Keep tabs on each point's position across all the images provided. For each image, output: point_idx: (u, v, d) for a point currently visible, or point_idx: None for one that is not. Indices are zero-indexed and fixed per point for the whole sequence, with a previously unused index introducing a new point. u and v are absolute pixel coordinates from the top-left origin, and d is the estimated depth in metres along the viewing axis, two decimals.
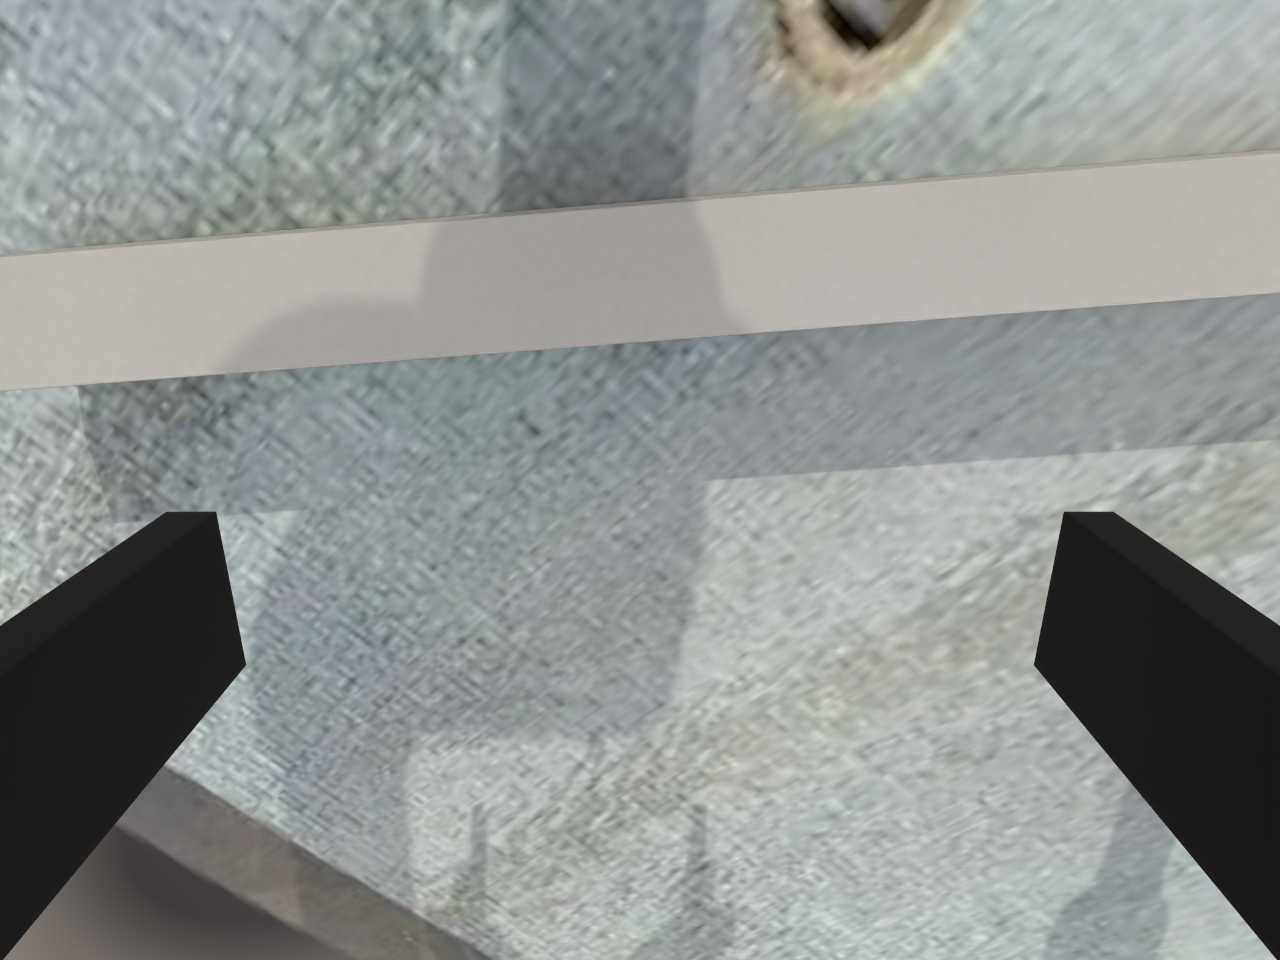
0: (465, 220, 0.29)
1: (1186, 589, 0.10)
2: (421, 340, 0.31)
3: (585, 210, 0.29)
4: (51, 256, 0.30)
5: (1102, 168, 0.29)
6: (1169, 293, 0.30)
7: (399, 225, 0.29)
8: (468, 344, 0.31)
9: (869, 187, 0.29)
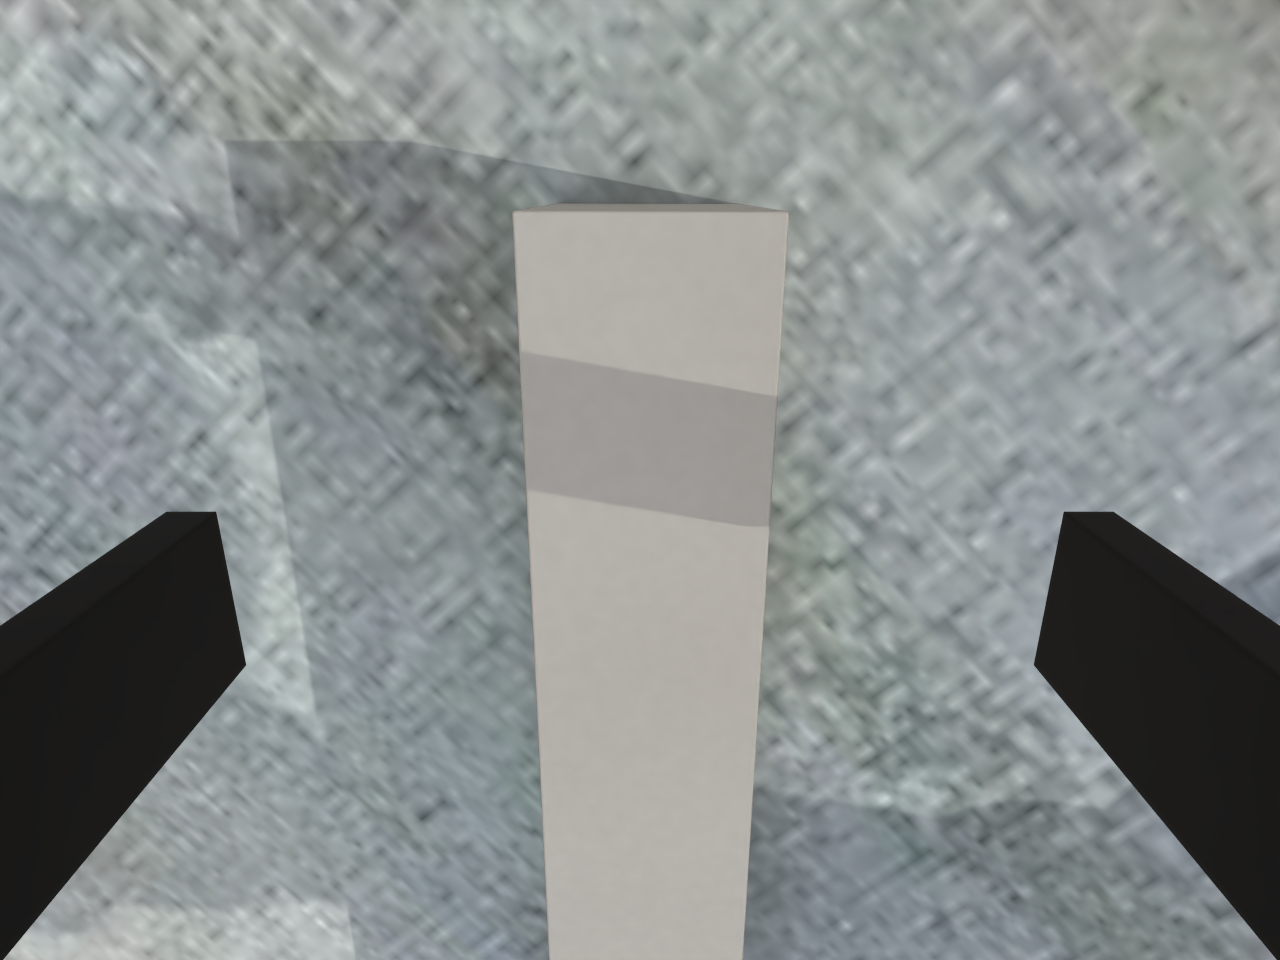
0: None
1: (1186, 589, 0.10)
2: None
3: None
4: (766, 496, 0.16)
5: None
6: None
7: None
8: None
9: None
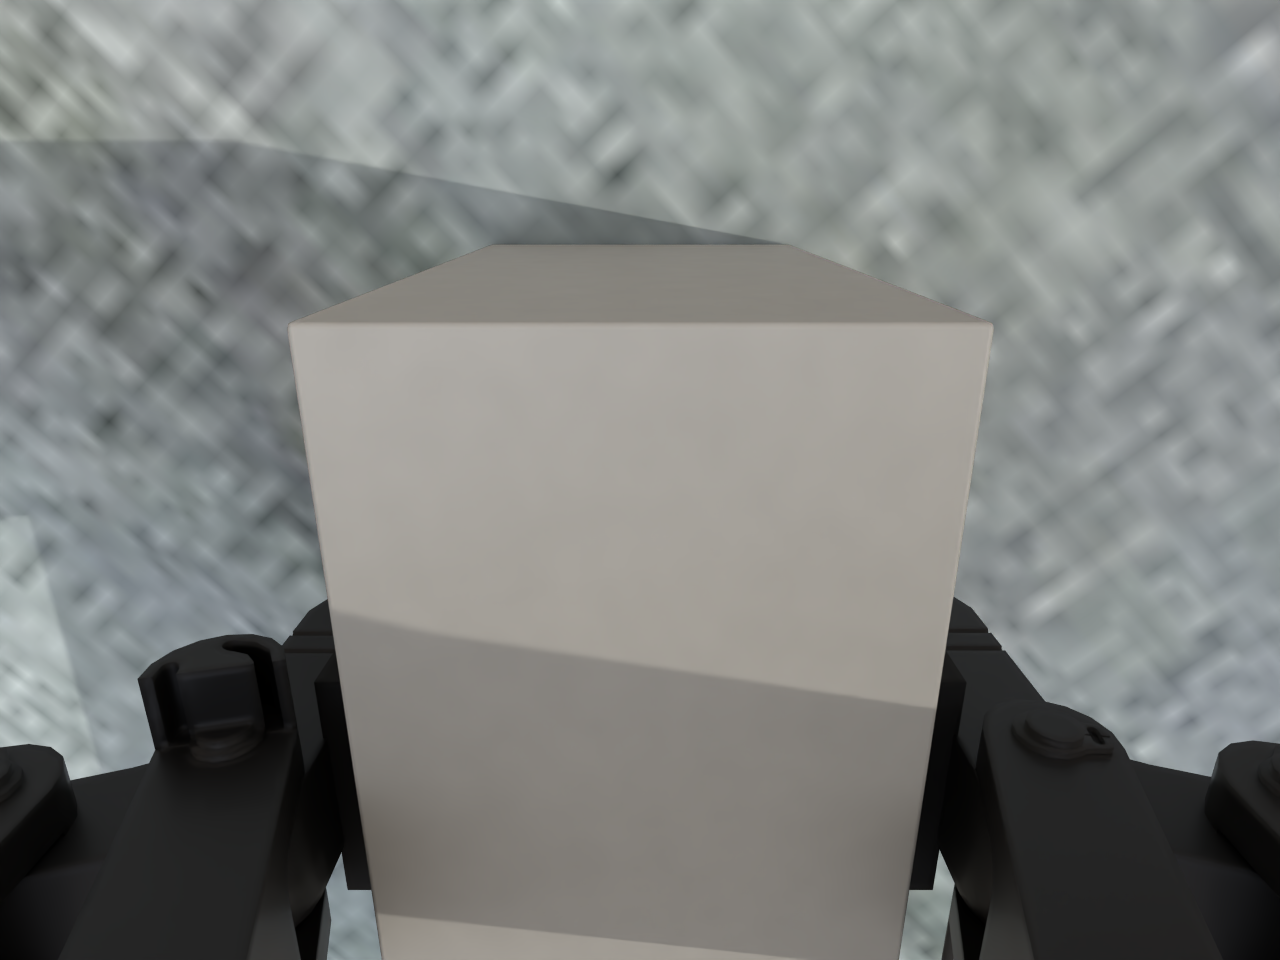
0: None
1: None
2: None
3: None
4: (894, 914, 0.07)
5: None
6: None
7: None
8: None
9: None
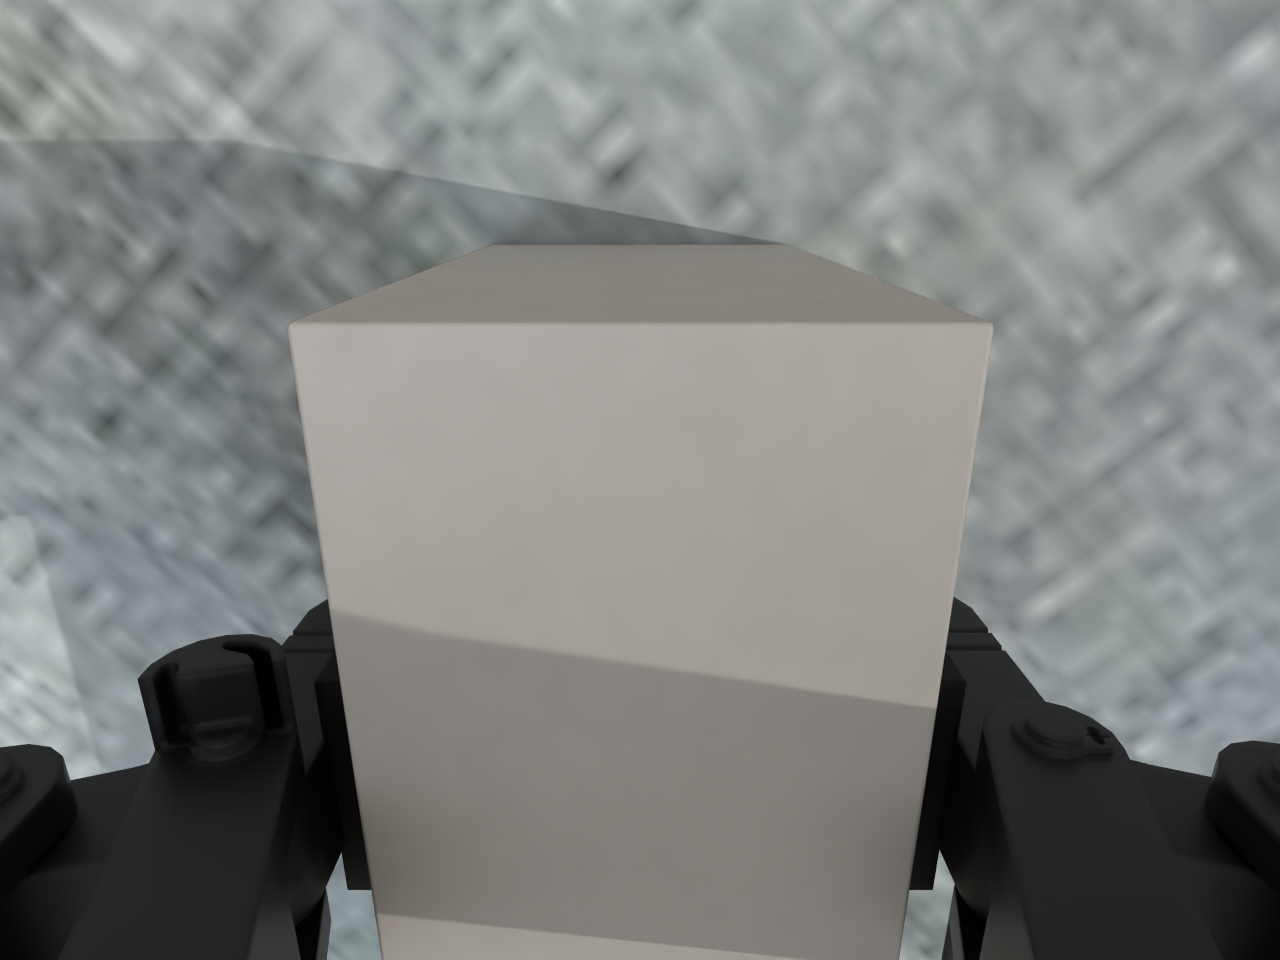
0: None
1: None
2: None
3: None
4: (894, 914, 0.07)
5: None
6: None
7: None
8: None
9: None
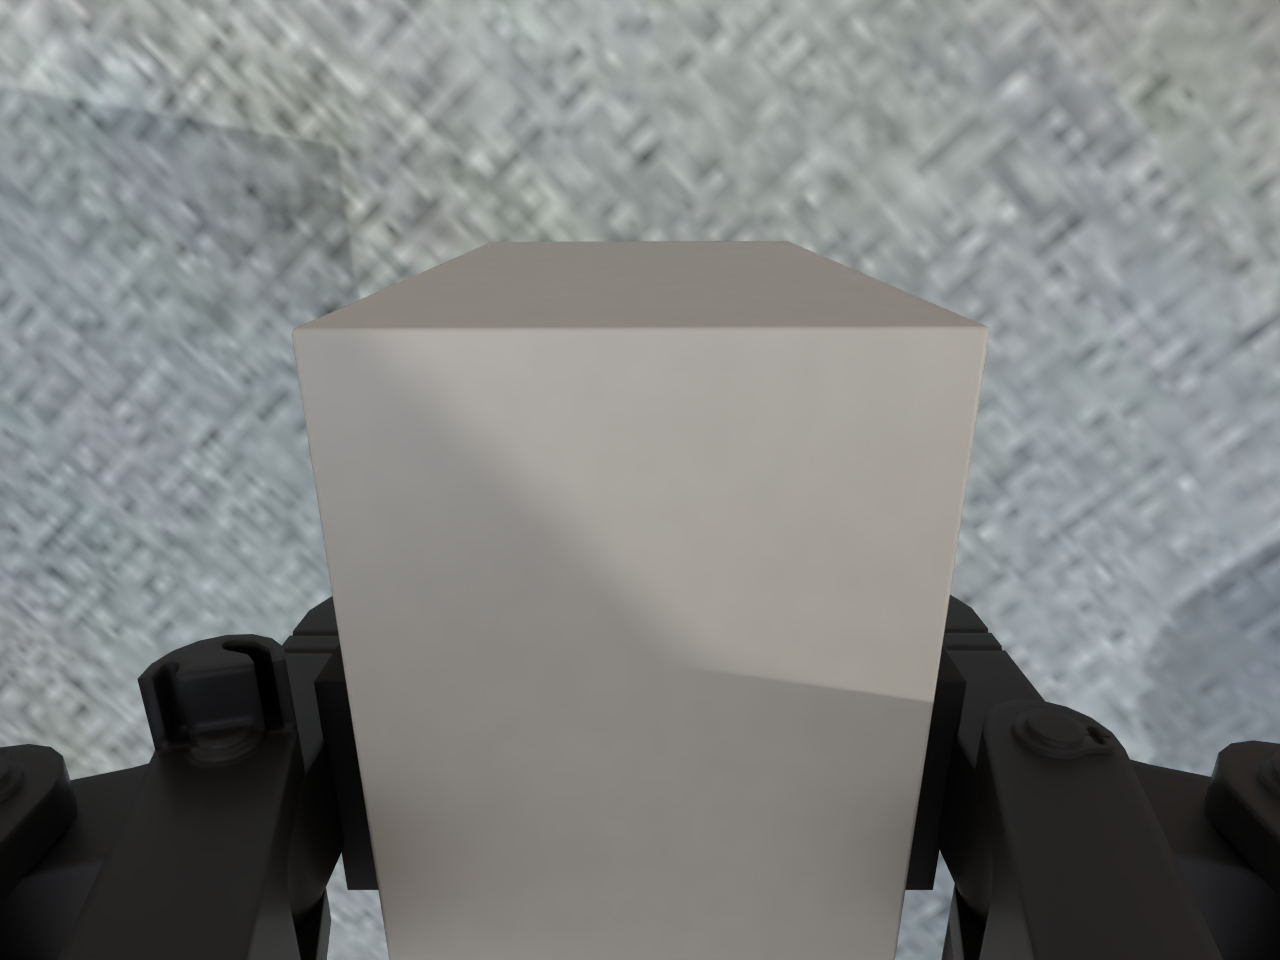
0: None
1: None
2: None
3: None
4: (892, 905, 0.08)
5: None
6: None
7: None
8: None
9: None
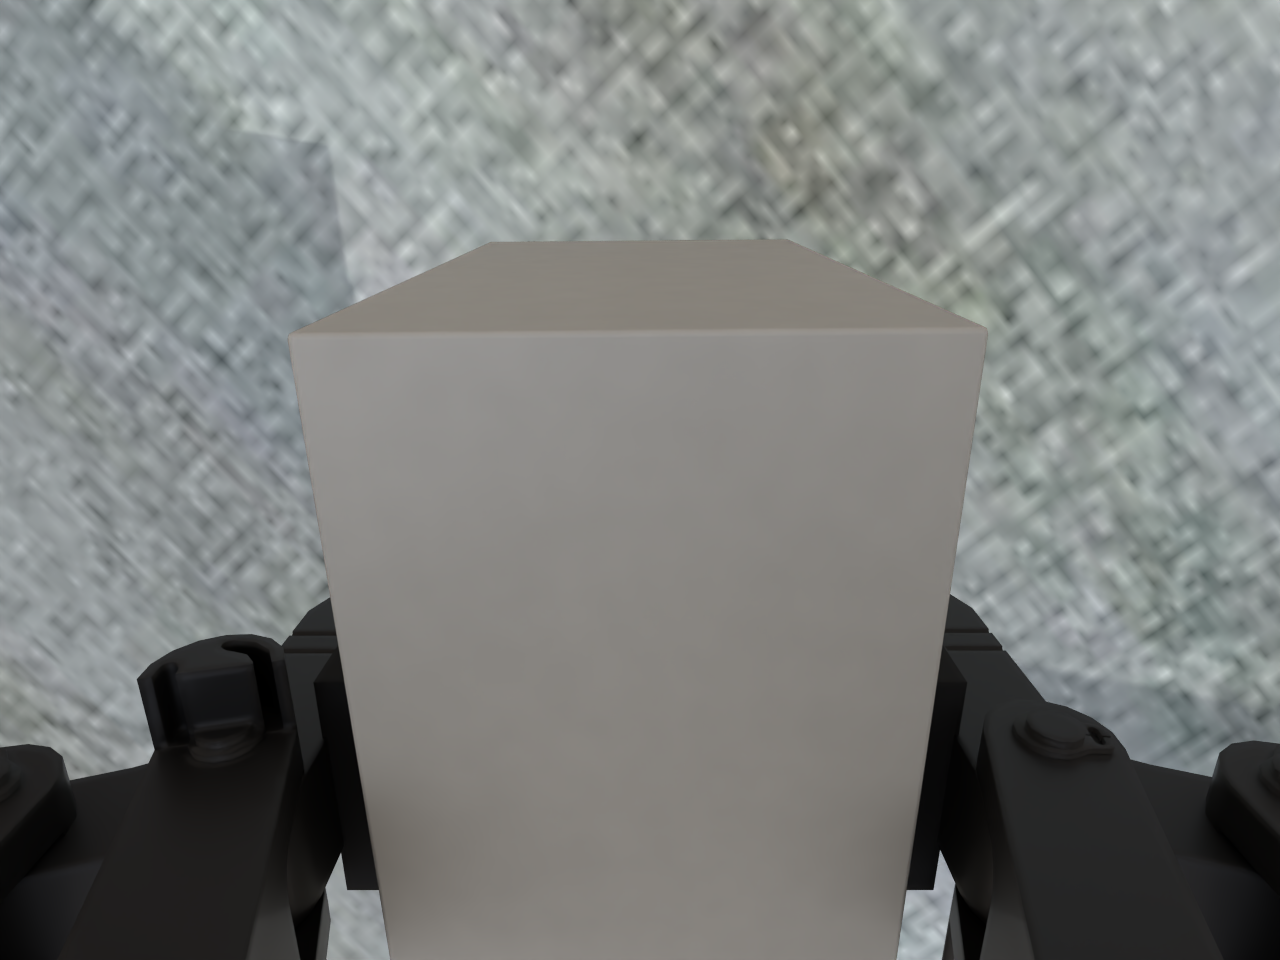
0: None
1: None
2: None
3: None
4: (894, 908, 0.08)
5: None
6: None
7: None
8: None
9: None
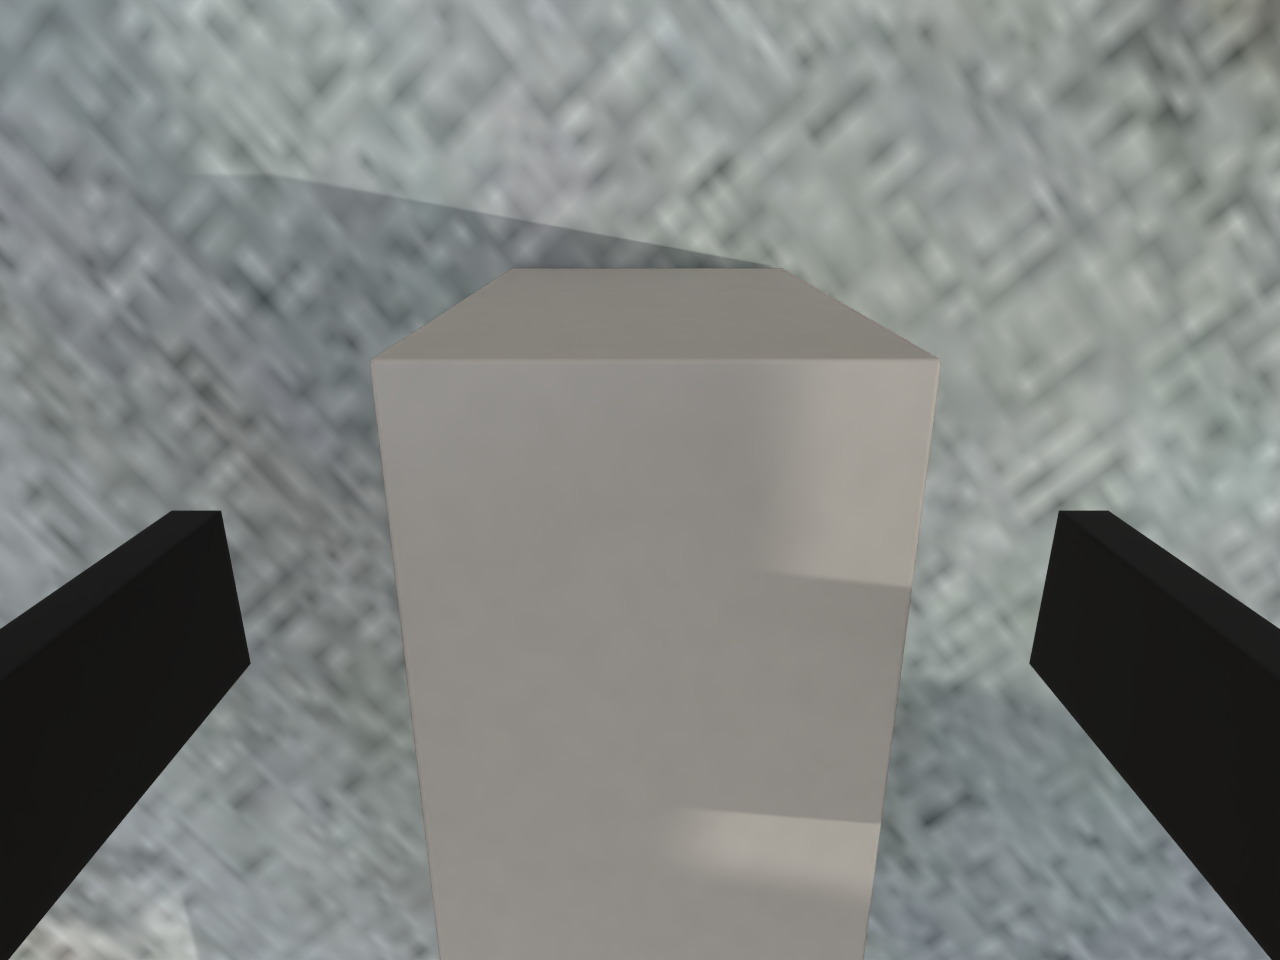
0: None
1: (1179, 587, 0.10)
2: None
3: None
4: (868, 852, 0.09)
5: None
6: None
7: None
8: None
9: None
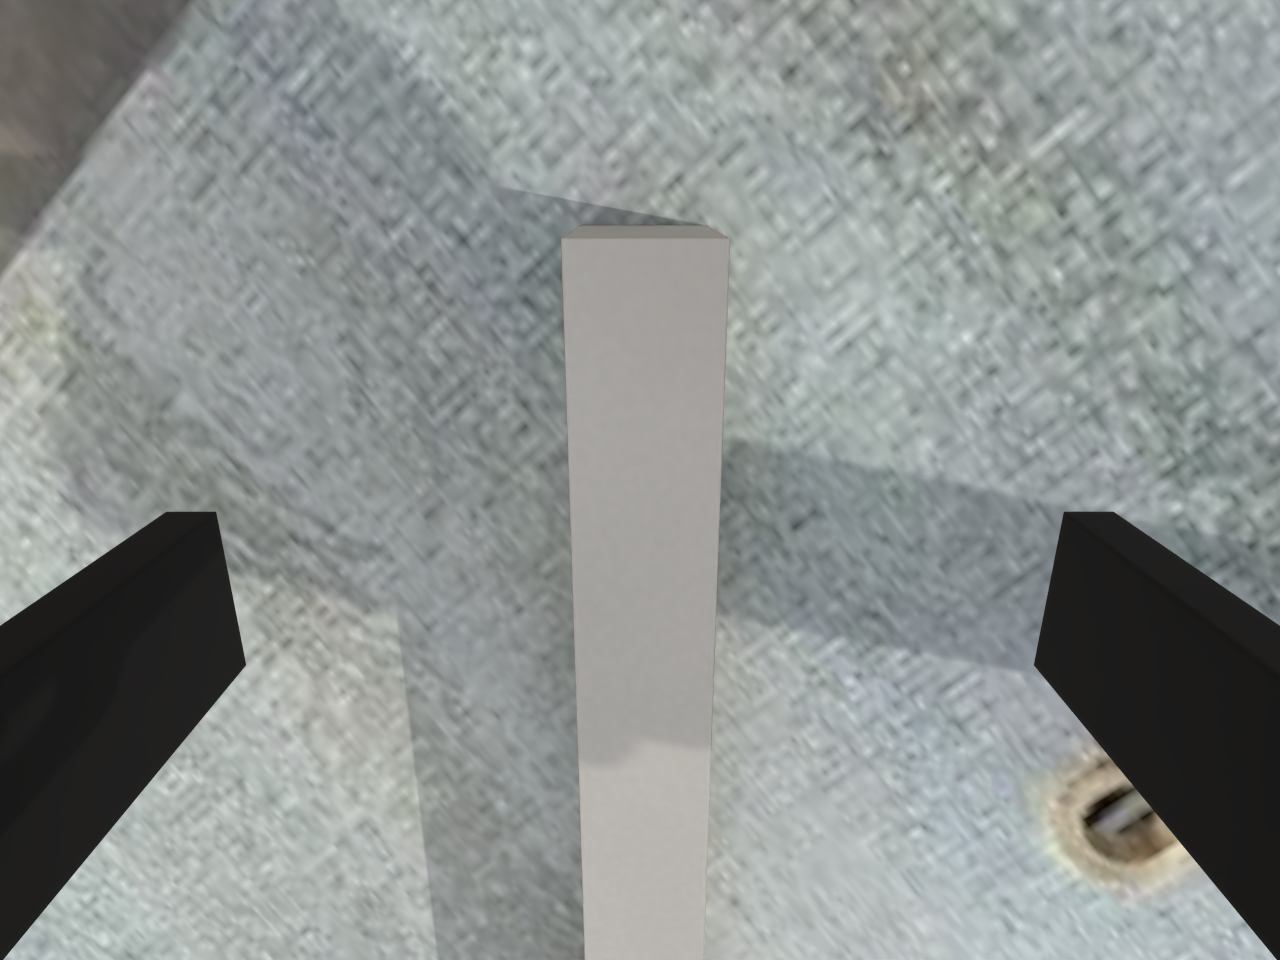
0: (708, 806, 0.31)
1: (1186, 589, 0.10)
2: (597, 757, 0.30)
3: (705, 893, 0.32)
4: (720, 417, 0.26)
5: None
6: None
7: (710, 754, 0.30)
8: (590, 795, 0.31)
9: None
